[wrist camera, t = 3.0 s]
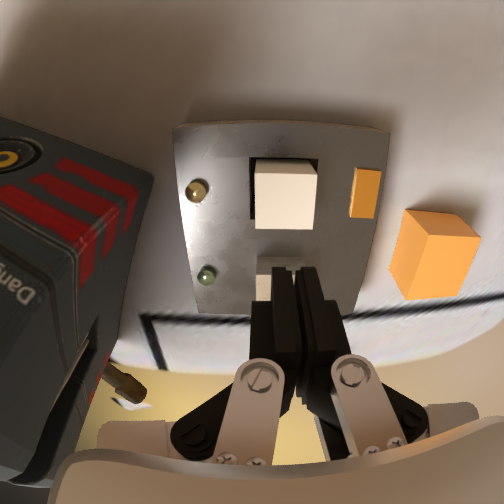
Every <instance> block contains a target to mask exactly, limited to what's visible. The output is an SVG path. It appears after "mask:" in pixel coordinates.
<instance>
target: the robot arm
mask: <svg viewBox="0 0 504 504" xmlns="http://www.w3.org/2000/svg"><path fill="white" fill-rule="evenodd" d="M295 385H296V396H297V397H302V404H303V405H304V404H307V409H308V410H310V411H311V412H312V413H313V414H314V420H315V423H316V427H317V431H318V434H319V438H320V441H321V445H322V448H323V452H324V456H325V459H326V462H318V463H308V464H295V465H276V466H275V465H272V460H273V454H274V448H275V441H276V436H277V429H278V424H279V418H280V417H281V416H283V415H284V414H285V413H286V412H287V411H288V410H289V407H290V403H291V399H292V397H293V394H294V390H295ZM47 504H504V416H489V417H484V418H481V419H479V414H478V411H477V409H476V407H475V406H474V405H473V404H471V403H469V402H459V403H447V404H428V405H427V406H426V407H422V406H421V405H419V404H418V403H416V402H414V401H413V400H411V399H409V398H407V397H406V396H404V395H402V394H400V393H399V392H397V391H395V390H394V389H392V388H390V387H388V386H387V385H385V384H383V383H381V381H380V379H379V377H378V375H377V373H376V371H375V369H374V367H373V365H372V364H371V362H370V361H368V360H367V359H366V358H364V357H362V356H360V355H355V354H351V350H350V346H349V343H348V339H347V336H346V332H345V328H344V325H343V321H342V318H341V315H340V311H339V308H338V305H337V302H336V300H325V299H324V295H323V291H322V288H321V284H320V280H319V277H318V273H317V270H316V267H315V266H312V267H301V268H300V270H296V271H295V279H294V282H293V276H292V271H291V270H286V267H272V269H271V298H270V301H252V305H251V329H250V353H249V360H248V361H247V362H245V363H243V364H242V365H241V366H240V367H239V368H238V370H237V372H236V374H235V378H234V382H233V383H232V384H230V385H229V386H228V387H226V388H225V389H223V390H222V391H221V392H219V393H218V394H217V395H215V396H214V397H212V398H211V399H209V400H208V401H206V402H205V403H203V404H202V405H200V406H199V407H197V408H196V409H194V410H193V411H191V412H190V413H188V414H187V415H185V416H184V417H182V418H180V419H179V420H178V421H176V422H166V421H165V420H159V421H158V420H157V421H109V422H107V423H105V424H103V425H102V426H101V428H100V429H99V431H98V435H97V449H88V450H82V451H78V452H75V453H72V454H70V455H69V456H67V457H66V458H65V459H64V460H63V462H62V463H61V465H60V467H59V469H58V471H57V473H56V476H55V478H54V481H53V484H52V487H51V490H50V494H49V498H48V503H47Z"/></svg>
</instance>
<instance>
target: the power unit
mask: <svg viewBox="0 0 504 504" xmlns="http://www.w3.org/2000/svg"><path fill="white" fill-rule="evenodd" d="M152 184H153V176H152V175H151V174H149V173H146V172H144V171H141V170H139V169H136V168H134V167H132V166H129V165H127V164H124V163H122V162H119V161H117V160H114V159H112V158H109V157H107V156H104V155H102V154H99V153H97V152H94V151H92V150H89V149H86V148H84V147H81V146H79V145H76V144H73V143H71V142H68V141H65V140H63V139H60V138H57V137H55V136H52V135H49V134H47V133H44V132H41V131H38V130H36V129H33V128H30V127H27V126H24V125H21V124H19V123H16V122H13V121H10V120H7V119H4V118H1V117H0V481H8V482H10V483H12V484H14V485H20V486H29V487H37V488H51V487H52V484H53V481H54V478H55V476H56V473H57V471H58V469H59V467H60V465H61V463H62V462H63V460H64V459H65V458H66V457H67V456H69V455H70V454H72V453H74V451H75V448H76V445H77V442H78V439H79V436H80V433H81V429H82V427H83V424H84V421H85V418H86V415H87V412H88V410H89V407H90V404H91V401H92V399H93V396H94V393H95V391H96V389H97V386H98V384H99V381H100V379H101V376H102V374H103V371H104V369H105V367H106V364H107V362H108V360H109V357H110V355H111V353H112V351H113V348H114V346H115V344H116V342H117V334H118V327H119V321H120V315H121V309H122V303H123V297H124V292H125V287H126V282H127V277H128V272H129V268H130V263H131V259H132V255H133V251H134V246H135V242H136V239H137V235H138V231H139V227H140V223H141V220H142V216H143V213H144V209H145V206H146V203H147V199H148V196H149V193H150V190H151V187H152Z"/></svg>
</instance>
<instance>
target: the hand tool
mask: <svg viewBox="0 0 504 504" xmlns="http://www.w3.org/2000/svg"><path fill="white" fill-rule="evenodd" d="M101 378H102V379H104V380H105V381H106V382H108V383H109V384H110V385H111V386H112V387H115V392H116V393H117V394H119V395H121V396H123V397H124V398H125V399H126V400H128V401H130V402H132V403H134V404H138V403H141V402H142V401H143V399H145V397H146V394H147V389H146V388H145V387H144V386H143V385H142V384H141V383H140V382H138V381H137V380H136V379H135V378H134V377H133V376H132V375H131V374H128V373H123V372H121V371H120V370H118V369H117V368H115V367H114V366H113V365H112V364H111V363H109V362H107V364H106V367H105V369H104V371H103V374H102V376H101Z"/></svg>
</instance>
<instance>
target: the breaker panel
mask: <svg viewBox="0 0 504 504" xmlns="http://www.w3.org/2000/svg"><path fill="white" fill-rule="evenodd" d="M172 137H173V148H174V158H175V167H176V176H177V185H178V193H179V200H180V208H181V215H182V222H183V228H184V235H185V241H186V248H187V254H188V259H189V265H190V271H191V276H192V282H193V287H194V292H195V297H196V302H197V307H198V312H199V313H215V314H248V315H251V305H252V301H270V298H271V269H272V267H286V270H291V271H292V276H293V282H294V279H295V271H296V270H300V268H301V267H312V266H315V267H316V270H317V273H318V277H319V280H320V284H321V288H322V291H323V295H324V299H325V300H336V302H337V305H338V308H339V311H340V314H345V313H353V311H354V308H355V304H356V301H357V298H358V294H359V291H360V287H361V284H362V280H363V277H364V273H365V269H366V265H367V261H368V257H369V253H370V249H371V245H372V241H373V236H374V232H375V227H376V222H377V217H378V212H379V207H380V201H381V196H382V190H383V184H384V177H385V170H386V163H387V155H388V147H389V137H390V134H389V133H386V132H384V131H381V130H379V129H376V128H370V127H363V126H355V125H347V124H337V123H327V122H313V121H295V120H227V121H209V122H195V123H184V124H181V125H178V126H176V127H173V128H172ZM251 157H287V158H311V166H312V167H313V169H314V170H315V172H316V173H317V186H316V198H315V210H314V220H313V230H310V229H255V205H252V199H251Z"/></svg>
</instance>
